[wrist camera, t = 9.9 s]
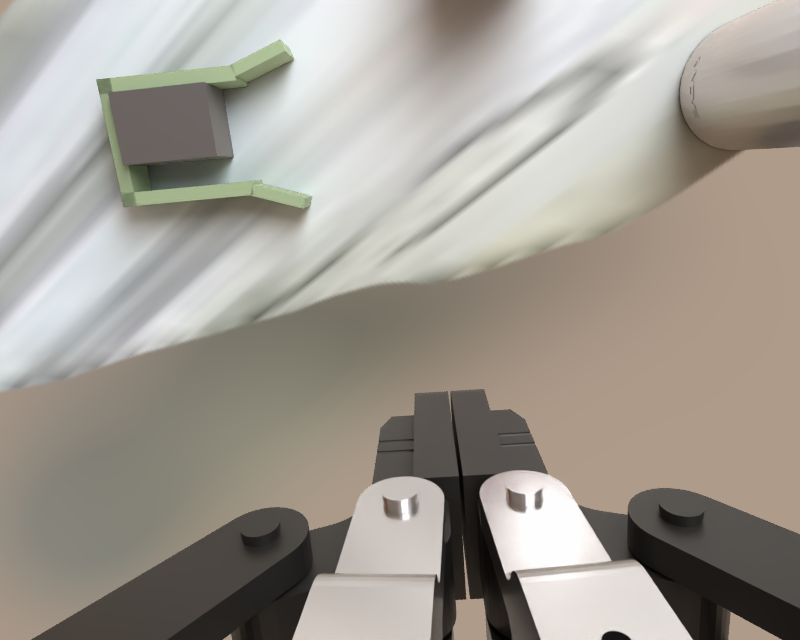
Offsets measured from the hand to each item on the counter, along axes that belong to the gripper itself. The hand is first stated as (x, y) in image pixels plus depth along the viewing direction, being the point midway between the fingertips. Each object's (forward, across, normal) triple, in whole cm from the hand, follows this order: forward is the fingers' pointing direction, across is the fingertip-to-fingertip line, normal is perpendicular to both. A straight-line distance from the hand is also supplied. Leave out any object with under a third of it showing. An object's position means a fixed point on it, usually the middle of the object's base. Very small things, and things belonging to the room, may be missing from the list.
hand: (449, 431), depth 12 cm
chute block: (+34, +18, -10) cm, 40 cm away
